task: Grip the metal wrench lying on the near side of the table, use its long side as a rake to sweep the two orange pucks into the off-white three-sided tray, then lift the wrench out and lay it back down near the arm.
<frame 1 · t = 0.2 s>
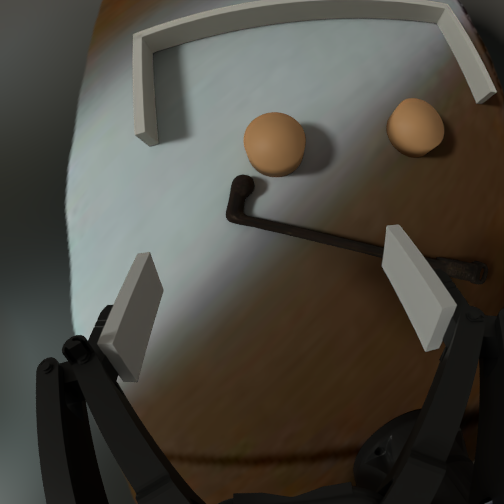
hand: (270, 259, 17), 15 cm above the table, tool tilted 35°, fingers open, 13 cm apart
puck a: (409, 133, 31), on the table
wrench: (367, 232, 32), on the table
chip tray: (320, 57, 32), on the table
puck b: (275, 150, 32), on the table
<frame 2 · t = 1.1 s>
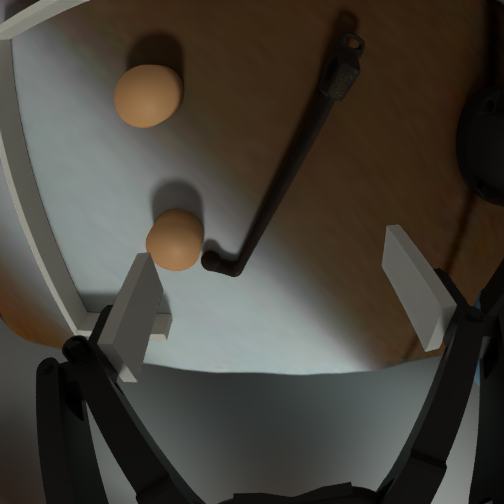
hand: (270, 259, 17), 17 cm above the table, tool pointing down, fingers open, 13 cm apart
puck a: (155, 93, 27), on the table
wrench: (272, 156, 31), on the table
chip tray: (77, 180, 32), on the table
puck b: (179, 232, 35), on the table
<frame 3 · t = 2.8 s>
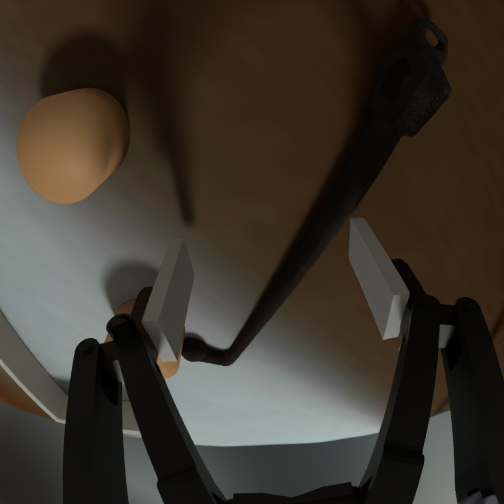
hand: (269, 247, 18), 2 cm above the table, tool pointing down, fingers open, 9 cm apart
puck a: (86, 135, 16), on the table
wrench: (284, 213, 20), on the table, touching gripper
chip tray: (14, 263, 21), on the table
puck b: (150, 325, 24), on the table
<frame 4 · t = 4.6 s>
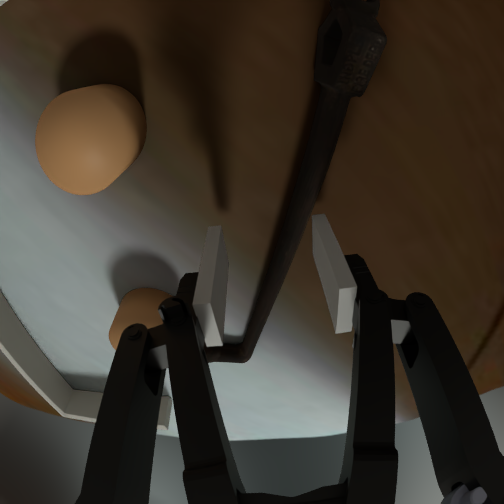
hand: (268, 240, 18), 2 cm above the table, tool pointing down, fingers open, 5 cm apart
puck a: (103, 129, 17), on the table
wrench: (262, 202, 20), on the table, touching gripper
chip tray: (25, 256, 22), on the table
puck b: (154, 314, 25), on the table
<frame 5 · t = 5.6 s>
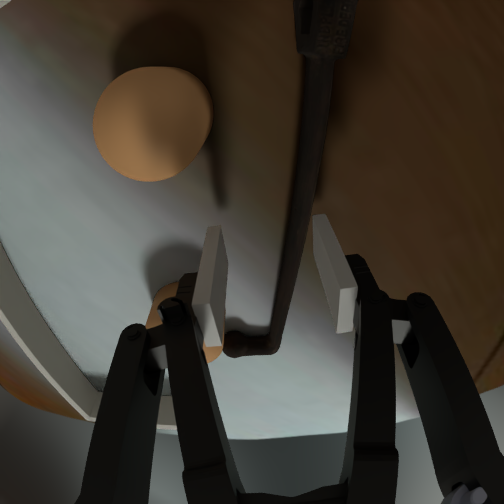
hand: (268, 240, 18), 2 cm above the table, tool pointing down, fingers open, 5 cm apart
puck a: (163, 114, 17), on the table
wrench: (268, 184, 20), on the table, touching gripper
chip tray: (58, 250, 22), on the table
puck b: (189, 309, 25), on the table
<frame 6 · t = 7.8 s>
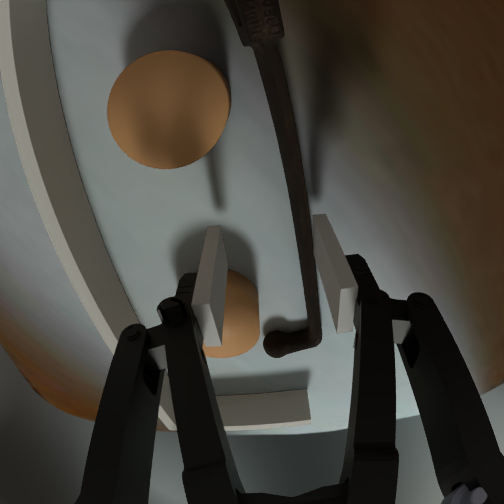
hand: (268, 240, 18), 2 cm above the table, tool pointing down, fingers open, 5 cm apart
puck a: (179, 102, 16), on the table
wrench: (261, 181, 19), on the table, touching gripper, puck b
chip tray: (191, 231, 21), on the table
puck b: (219, 298, 24), on the table, touching wrench
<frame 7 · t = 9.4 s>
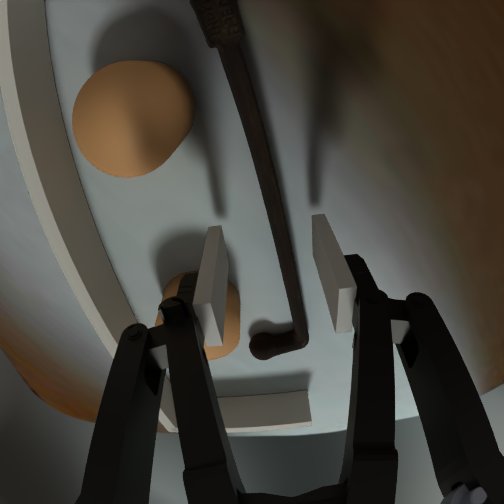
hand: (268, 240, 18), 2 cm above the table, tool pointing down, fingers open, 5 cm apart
puck a: (145, 110, 16), on the table
wrench: (237, 183, 19), on the table, touching gripper
chip tray: (192, 232, 20), on the table
puck b: (201, 301, 24), on the table
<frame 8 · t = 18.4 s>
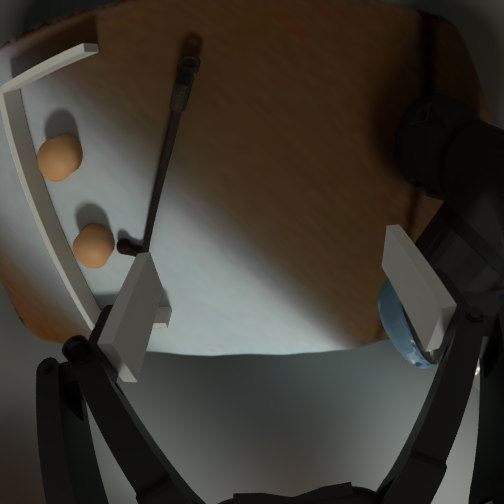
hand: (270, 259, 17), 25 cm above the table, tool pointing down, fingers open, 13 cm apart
puck a: (65, 153, 37), on the table
wrench: (153, 161, 39), on the table
chip tray: (88, 204, 41), on the table
puck b: (98, 239, 45), on the table
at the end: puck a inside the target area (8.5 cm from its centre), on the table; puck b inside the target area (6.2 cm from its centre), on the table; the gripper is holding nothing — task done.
